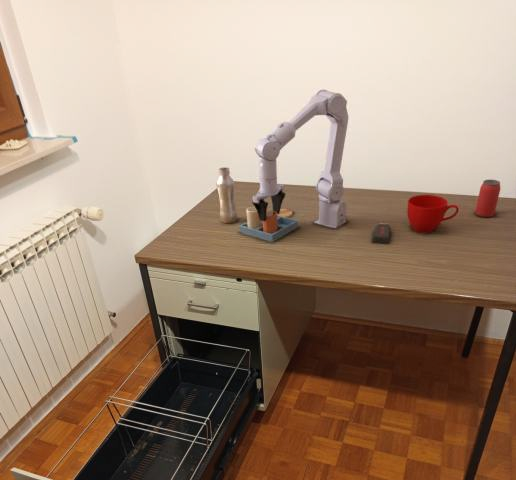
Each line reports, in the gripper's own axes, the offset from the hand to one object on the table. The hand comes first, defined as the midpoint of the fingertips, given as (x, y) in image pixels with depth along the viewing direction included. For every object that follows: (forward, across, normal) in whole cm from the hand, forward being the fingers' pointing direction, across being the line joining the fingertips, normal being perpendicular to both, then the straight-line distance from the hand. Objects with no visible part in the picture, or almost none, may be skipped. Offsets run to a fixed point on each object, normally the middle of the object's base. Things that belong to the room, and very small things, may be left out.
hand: (269, 216), depth 171 cm
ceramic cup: (+7, -36, +43) cm, 57 cm away
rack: (+7, -4, -4) cm, 9 cm away
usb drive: (+7, -22, +32) cm, 40 cm away
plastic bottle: (+8, -2, -22) cm, 23 cm away
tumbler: (+7, 0, 0) cm, 7 cm away
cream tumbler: (+7, 0, -7) cm, 10 cm away
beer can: (+7, -59, +54) cm, 80 cm away
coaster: (+7, -19, -10) cm, 22 cm away
